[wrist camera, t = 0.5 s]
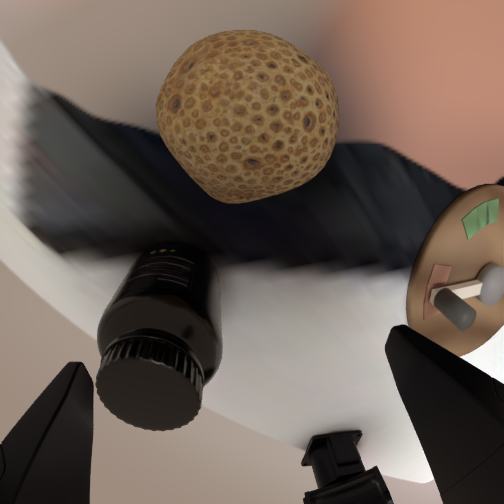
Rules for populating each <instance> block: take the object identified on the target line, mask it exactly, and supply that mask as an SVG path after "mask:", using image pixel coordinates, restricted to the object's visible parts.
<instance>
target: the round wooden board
mask: <svg viewBox="0 0 504 504" xmlns="http://www.w3.org/2000/svg"><path fill="white" fill-rule="evenodd" d="M489 263H495V264H497V265H499V266H500V267H502V268H504V186H500V185H496V184H483V185H478V186H476V187H474V188H471V189H469V190H467V191H466V192H464V193H463V194H461V195H460V196H459V197H457V198H456V199H455V200H454V201H453V202H452V203H451V204H450V205H449V206H448V207H447V208H446V209H445V210H444V211H443V212H442V214H441V215H440V216H439V218H438V219H437V220H436V222H435V223H434V225H433V226H432V228H431V230H430V231H429V233H428V235H427V236H426V238H425V240H424V242H423V244H422V246H421V248H420V251H419V253H418V256H417V258H416V261H415V264H414V267H413V270H412V273H411V277H410V281H409V285H408V292H407V305H406V311H407V320H408V324H409V327H410V328H412V329H413V330H415V331H417V332H418V333H420V334H422V335H423V336H425V337H427V338H428V339H430V340H432V341H433V342H435V343H437V344H438V345H440V346H442V347H443V348H445V349H447V350H448V351H450V352H452V353H453V354H455V355H457V356H458V357H460V356H463V355H465V354H468V353H470V352H472V351H474V350H475V349H477V348H478V347H480V346H481V345H483V344H484V343H485V342H487V341H488V340H489V339H490V338H491V337H492V336H493V335H494V334H496V333H497V331H498V330H499V329H500V328H501V327H502V326H503V325H504V294H503V296H502V298H501V299H500V300H499V301H498V302H497V303H496V304H494V305H493V306H486V305H485V304H484V303H482V302H481V301H480V300H478V299H477V298H476V297H475V296H472V297H469V298H465V299H462V300H464V301H465V302H466V303H467V304H469V305H470V306H471V307H472V308H474V309H475V310H476V319H475V321H474V323H473V324H472V326H471V327H470V328H468V329H467V330H465V331H460V330H459V329H458V328H457V327H456V326H455V325H454V324H453V323H452V322H451V321H450V320H449V319H447V318H446V317H445V316H444V315H443V314H442V313H441V312H440V311H439V310H438V309H437V308H436V307H435V306H434V305H433V304H432V303H430V302H429V301H430V296H431V291H432V289H436V288H441V287H446V286H451V285H456V284H460V283H465V282H469V281H474V280H476V279H477V277H478V275H479V273H480V272H481V270H482V269H483V268H484V267H485V266H486V265H488V264H489Z"/></svg>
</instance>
